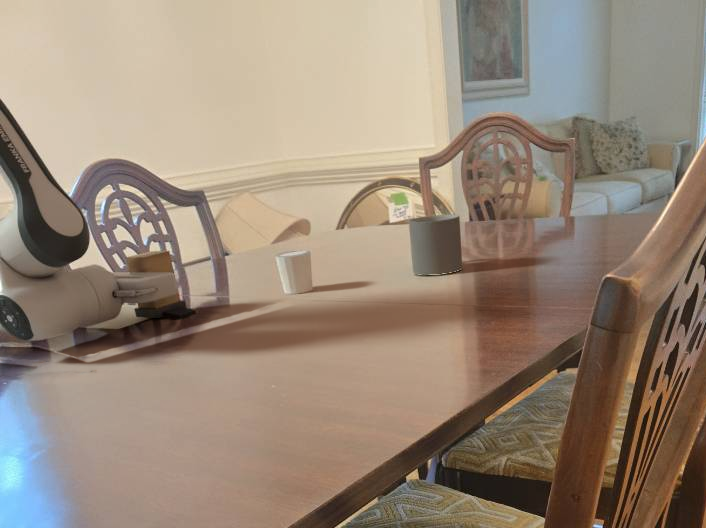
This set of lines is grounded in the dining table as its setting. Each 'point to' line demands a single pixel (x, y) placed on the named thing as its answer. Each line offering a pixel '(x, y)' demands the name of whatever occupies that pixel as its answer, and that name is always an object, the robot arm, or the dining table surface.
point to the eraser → (154, 263)
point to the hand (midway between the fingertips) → (156, 276)
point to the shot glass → (295, 271)
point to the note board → (122, 319)
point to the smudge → (179, 313)
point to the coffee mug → (435, 244)
